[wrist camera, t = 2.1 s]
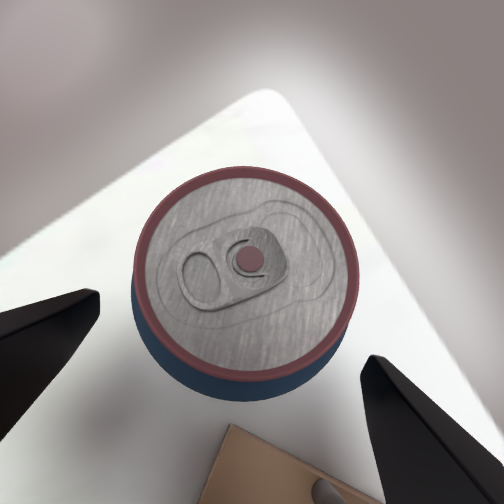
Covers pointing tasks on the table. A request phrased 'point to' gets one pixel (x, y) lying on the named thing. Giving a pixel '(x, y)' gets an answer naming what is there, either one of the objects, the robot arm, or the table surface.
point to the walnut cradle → (270, 477)
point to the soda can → (244, 283)
